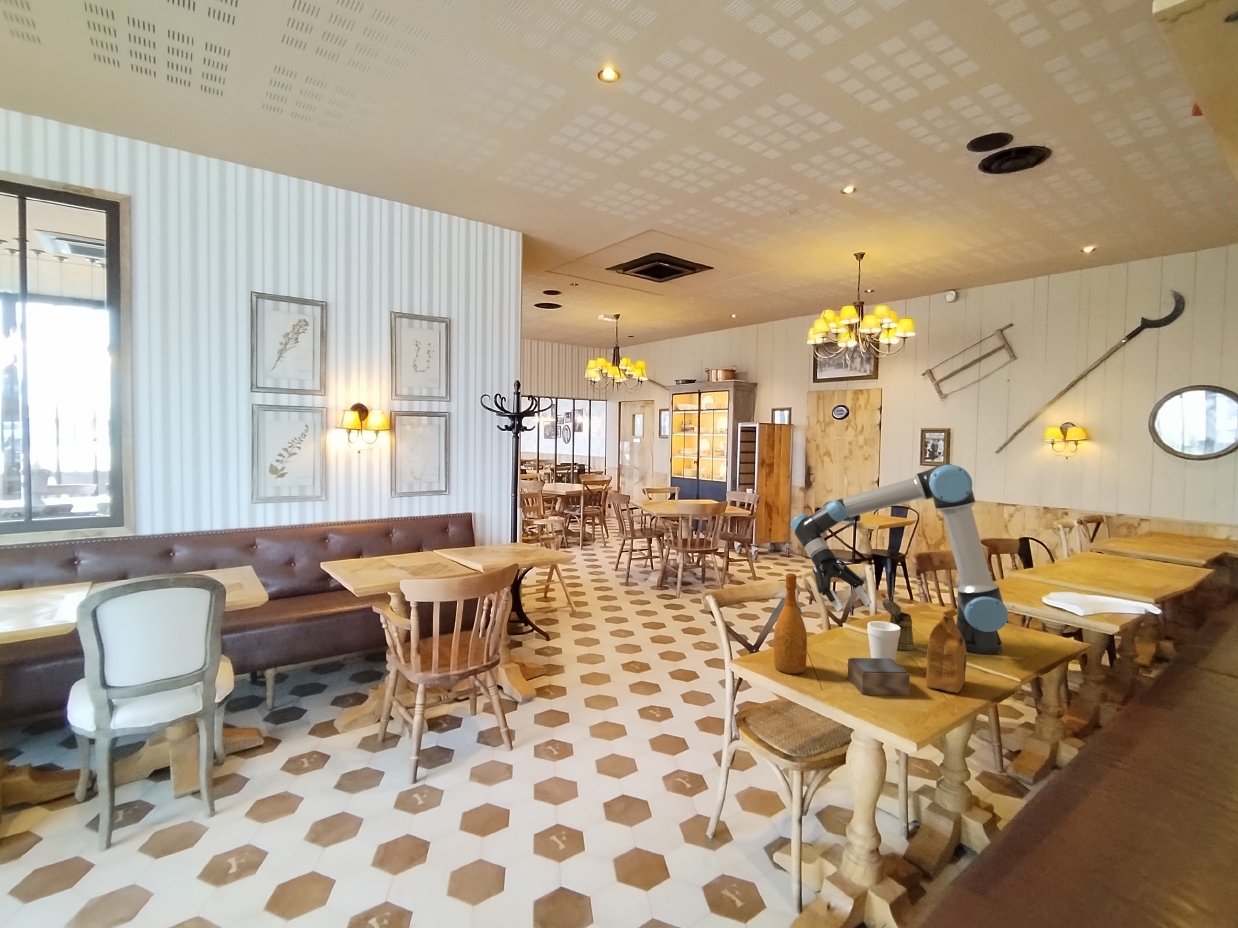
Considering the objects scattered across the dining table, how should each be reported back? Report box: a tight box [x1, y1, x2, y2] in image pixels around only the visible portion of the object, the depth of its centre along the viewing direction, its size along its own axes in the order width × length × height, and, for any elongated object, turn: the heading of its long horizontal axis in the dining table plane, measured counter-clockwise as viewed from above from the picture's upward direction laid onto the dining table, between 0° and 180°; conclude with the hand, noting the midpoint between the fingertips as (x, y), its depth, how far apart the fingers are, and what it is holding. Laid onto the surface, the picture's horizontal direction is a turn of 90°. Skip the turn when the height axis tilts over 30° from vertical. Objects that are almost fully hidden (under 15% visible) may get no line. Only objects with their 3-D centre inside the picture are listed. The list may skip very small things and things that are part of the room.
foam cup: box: [866, 620, 900, 662], centre depth 181 cm, size 10×9×13 cm
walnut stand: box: [847, 657, 911, 696], centre depth 167 cm, size 13×11×6 cm
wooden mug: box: [882, 598, 915, 652], centre depth 198 cm, size 9×14×18 cm, turn 126°
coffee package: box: [925, 607, 967, 693], centre depth 167 cm, size 10×12×22 cm
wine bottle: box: [773, 572, 808, 675], centre depth 179 cm, size 10×10×30 cm
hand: (854, 606), depth 190 cm, fingers open, 13 cm apart
